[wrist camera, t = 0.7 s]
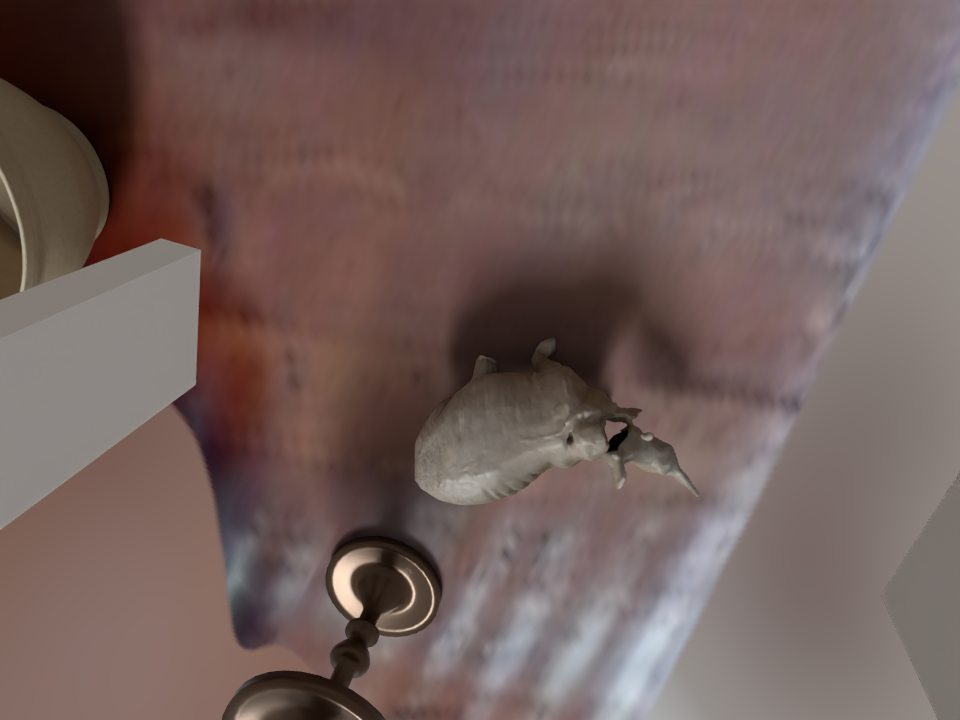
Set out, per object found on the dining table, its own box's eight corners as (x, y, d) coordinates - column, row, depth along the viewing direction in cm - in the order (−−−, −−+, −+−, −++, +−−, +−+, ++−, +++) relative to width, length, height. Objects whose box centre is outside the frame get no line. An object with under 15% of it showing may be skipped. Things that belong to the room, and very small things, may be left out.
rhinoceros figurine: (361, 353, 42) (457, 477, 30) (552, 290, 47) (705, 376, 34) (387, 455, 46) (482, 604, 34) (562, 388, 50) (704, 498, 38)
